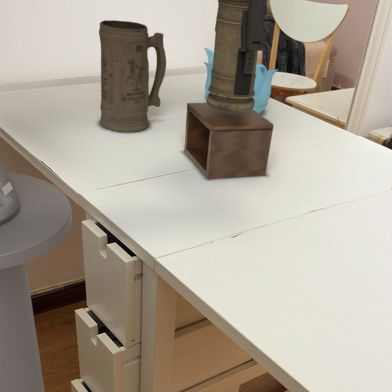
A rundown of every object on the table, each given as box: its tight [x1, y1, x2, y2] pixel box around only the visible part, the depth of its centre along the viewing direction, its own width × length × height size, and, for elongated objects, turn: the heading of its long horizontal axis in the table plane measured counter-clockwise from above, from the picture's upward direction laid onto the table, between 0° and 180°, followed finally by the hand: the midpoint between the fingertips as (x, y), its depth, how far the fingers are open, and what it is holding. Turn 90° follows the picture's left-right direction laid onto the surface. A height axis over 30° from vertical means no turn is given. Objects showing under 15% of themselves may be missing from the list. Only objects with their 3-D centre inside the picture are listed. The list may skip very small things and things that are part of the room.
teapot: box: [203, 47, 279, 115], centre depth 131 cm, size 17×19×12 cm
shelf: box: [184, 102, 275, 180], centre depth 103 cm, size 12×14×10 cm
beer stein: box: [98, 19, 167, 133], centre depth 114 cm, size 15×11×20 cm
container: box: [207, 0, 259, 112], centre depth 93 cm, size 9×9×18 cm
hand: (232, 86), depth 97 cm, fingers closed on container, 8 cm apart
